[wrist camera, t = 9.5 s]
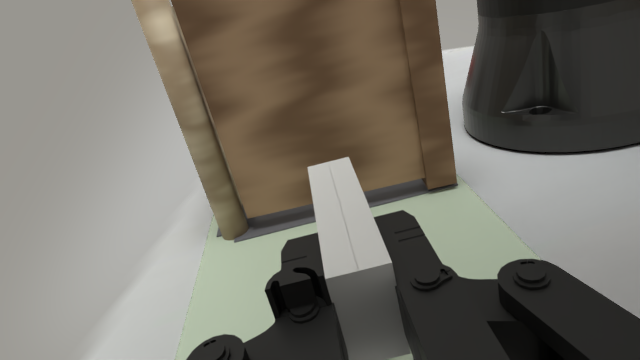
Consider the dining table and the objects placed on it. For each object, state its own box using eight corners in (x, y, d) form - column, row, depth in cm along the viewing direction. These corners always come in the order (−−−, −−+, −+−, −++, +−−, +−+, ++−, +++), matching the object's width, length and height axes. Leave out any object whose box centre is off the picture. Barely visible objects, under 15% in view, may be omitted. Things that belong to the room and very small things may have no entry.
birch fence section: (256, 157, 41) (199, -22, 35) (248, 236, 28) (154, -27, 22) (237, 162, 41) (177, -16, 35) (221, 243, 28) (119, -18, 22)
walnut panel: (250, 230, 28) (162, -20, 22) (253, 216, 30) (171, -20, 24) (457, 183, 27) (424, -90, 21) (448, 171, 29) (415, -85, 23)
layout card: (402, 120, 42) (401, 116, 42) (603, 330, 16) (603, 321, 16) (228, 165, 42) (226, 161, 42) (156, 443, 16) (152, 436, 16)
